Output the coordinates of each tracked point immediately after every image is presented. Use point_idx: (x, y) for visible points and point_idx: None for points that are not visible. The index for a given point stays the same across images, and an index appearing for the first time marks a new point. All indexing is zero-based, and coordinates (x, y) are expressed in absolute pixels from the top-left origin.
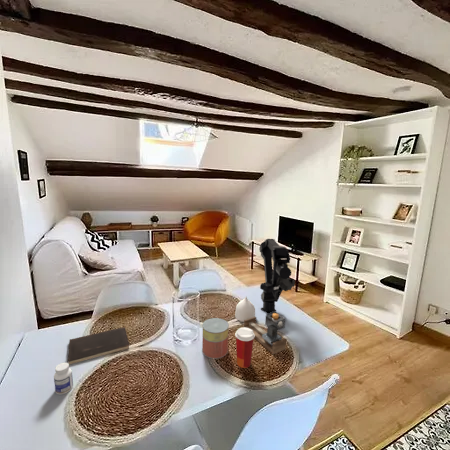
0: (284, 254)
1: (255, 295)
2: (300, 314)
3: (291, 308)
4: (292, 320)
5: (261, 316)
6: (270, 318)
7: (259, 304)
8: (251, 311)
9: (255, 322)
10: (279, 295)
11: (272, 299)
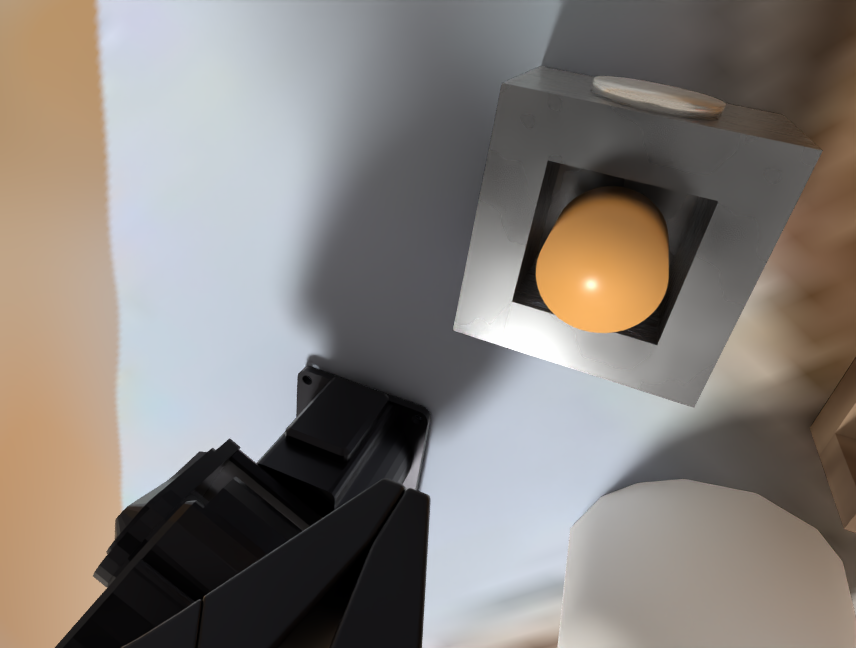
0: None
1: None
2: (113, 115)
3: (124, 268)
4: (294, 103)
5: (538, 442)
6: (729, 300)
7: None
8: (750, 618)
9: (850, 445)
10: (267, 589)
11: (288, 524)
